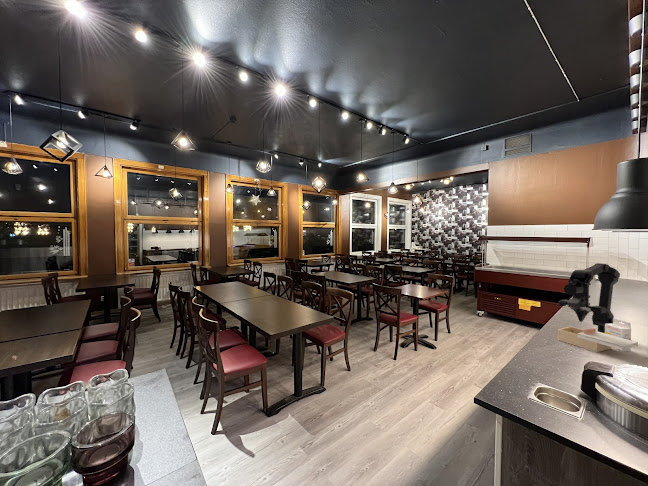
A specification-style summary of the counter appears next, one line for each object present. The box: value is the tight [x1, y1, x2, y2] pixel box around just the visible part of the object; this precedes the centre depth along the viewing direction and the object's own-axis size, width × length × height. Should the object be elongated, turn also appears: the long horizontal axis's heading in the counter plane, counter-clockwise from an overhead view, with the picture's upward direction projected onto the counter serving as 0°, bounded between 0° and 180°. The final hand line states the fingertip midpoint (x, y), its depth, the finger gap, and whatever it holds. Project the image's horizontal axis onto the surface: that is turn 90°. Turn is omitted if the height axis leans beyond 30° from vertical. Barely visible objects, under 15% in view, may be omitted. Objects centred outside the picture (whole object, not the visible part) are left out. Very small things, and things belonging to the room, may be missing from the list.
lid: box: [577, 327, 639, 351], centre depth 136 cm, size 14×17×4 cm
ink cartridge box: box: [605, 318, 632, 352], centre depth 140 cm, size 9×5×15 cm, turn 3°
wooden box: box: [557, 326, 612, 353], centre depth 145 cm, size 12×17×6 cm
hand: (580, 321), depth 146 cm, fingers closed
